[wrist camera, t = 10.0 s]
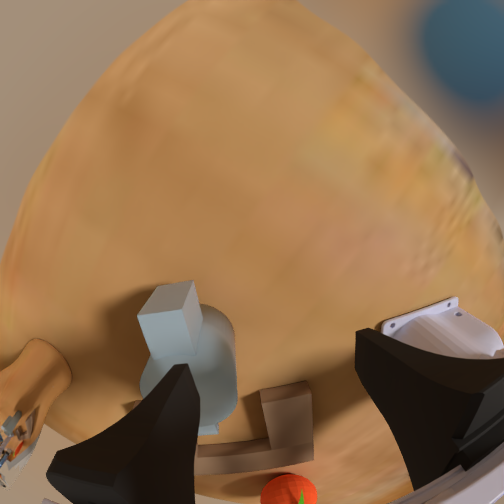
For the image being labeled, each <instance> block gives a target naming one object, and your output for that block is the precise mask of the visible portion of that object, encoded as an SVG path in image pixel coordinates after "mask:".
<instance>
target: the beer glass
mask: <svg viewBox="0 0 504 504" xmlns="http://www.w3.org/2000/svg"><path fill="white" fill-rule="evenodd" d="M71 381H72V374H71V371H70V368H69V366H68V364H67V362H66V360H65V359H64V357H63V356H62V355H61V354H60V352H59V351H58V350H57V349H56V348H54V347H53V346H52V345H51V344H49V343H47V342H46V341H43V340H40V339H33V340H31V341H29V342H28V343H27V345H26V346H25V348H24V349H23V351H22V353H21V354H20V356H19V357H18V358H17V359H16V360H15V361H14V362H13V363H12V364H11V365H9V366H8V367H6V368H5V369H3V370H2V371H0V487H2V488H3V489H5V490H10V487H11V486H12V484H13V483H14V481H15V480H16V478H17V477H18V476H19V474H20V473H21V471H22V470H23V468H24V467H25V465H26V463H27V462H28V460H29V458H30V456H31V454H32V452H33V450H34V448H35V446H36V443H37V441H38V438H39V436H40V433H41V430H42V427H43V424H44V421H45V418H46V416H47V413H48V411H49V408H50V406H51V405H52V403H53V401H54V400H55V399H56V398H57V397H58V396H59V395H60V394H61V393H62V392H63V391H65V390H66V389H67V388H68V387H69V386H70V384H71Z"/></svg>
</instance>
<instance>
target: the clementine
mask: <svg viewBox="0 0 504 504" xmlns="http://www.w3.org/2000/svg"><path fill="white" fill-rule="evenodd" d="M316 501H317V491H316V488H315V486H314V485H313V484H312V483H311V482H310V481H309V480H308V479H306V478H304V477H302V476H299V475H293V474H288V475H282V476H278V477H276V478H274V479H273V480H271V481H270V482H268V483H267V485H266V486H265V487H264V488H263V490H262V493H261V499H260V502H261V504H316Z"/></svg>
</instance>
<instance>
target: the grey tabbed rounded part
mask: <svg viewBox="0 0 504 504" xmlns="http://www.w3.org/2000/svg"><path fill="white" fill-rule="evenodd" d="M137 317H138V320H139V323H140V326H141V329H142V332H143V335H144V337H145V340H146V343H147V345H148V348H149V351H150V353H151V355H150V357H149V359H148V362H147V364H146V366H145V369H144V371H143V373H142V376H141V379H140V392H141V395H142V397H143V399H144V398H145V397H146V396H147V395H148V394H149V393H150V392H151V391H152V390H153V388H154V387H155V386H156V385H157V384H158V383H159V382H160V380H161V379H162V378H163V377H164V376H165V375H166V373H167V372H168V371H169V370H170V369H171V367H172V366H173V365H174V364H184V363H188V365H189V368H190V371H191V374H192V376H193V379H194V382H195V385H196V387H197V390H198V393H199V396H200V423H199V430H198V435H212V434H219V425H218V423H219V422H221V421H223V420H224V419H226V418H227V417H228V416H229V415H230V414H231V413H232V412H233V411H234V409H235V407H236V404H237V376H236V352H235V333H234V329H233V326H232V324H231V322H230V321H229V319H228V318H227V317H226V316H225V315H224V314H223V313H222V312H220V311H219V310H217V309H216V308H214V307H211V306H208V305H204V304H199V301H198V297H197V293H196V289H195V284H194V280H190V281H185V282H179V283H173V284H167V285H161V286H157V288H156V289H155V290H154V292H153V293H152V295H151V296H150V297H149V299H148V300H147V302H146V303H145V305H144V306H143V307H142V309H141V310H140V312H139V313H138V315H137Z"/></svg>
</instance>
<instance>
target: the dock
mask: <svg viewBox="0 0 504 504" xmlns="http://www.w3.org/2000/svg"><path fill="white" fill-rule="evenodd" d="M259 391H260V397H261V404H262V408H263V413H264V417H265V422H266V426H267V431H268V435H269V438H265V439H258V440H251V441H244V442H235V443H225V444H213V445H198V444H197V445H196V452H195V460H194V475H218V474H232V473H242V472H251V471H259V470H266V469H272V468H278V467H284V466H289V465H294V464H299V463H303V462H308V461H312V460H314V445H313V416H312V395H311V391H310V388H309V386H308V383H307V381H303V382H298V383H294V384H289V385H284V386H279V387H274V388H268V389H262V390H259ZM140 402H141V401H135V404H134V406H133V409H134V408H135V407H136V406H137V405H138V404H139V403H140ZM133 409H132V410H133Z"/></svg>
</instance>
